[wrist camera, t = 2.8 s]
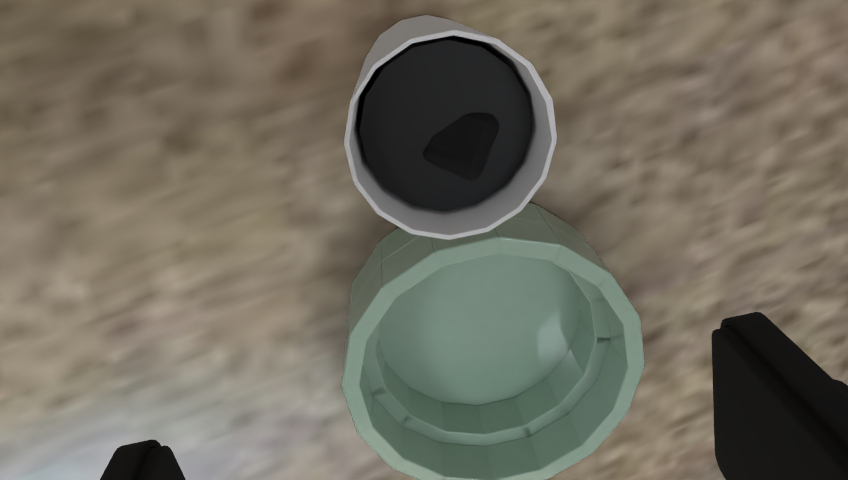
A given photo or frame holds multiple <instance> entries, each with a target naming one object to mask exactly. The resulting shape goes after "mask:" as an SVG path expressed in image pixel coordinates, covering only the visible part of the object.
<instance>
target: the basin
mask: <svg viewBox="0 0 848 480" xmlns="http://www.w3.org/2000/svg"><path fill="white" fill-rule="evenodd" d="M644 367H645V363H644V353H643V342H642V332H641V322H640V317H639V315H638V313H637V312H636V310H635V309H634V307H633V306H632V304H631V303H630V301H629V300H628V298H627V297H626V295H625V293H624V292H623V290H622V289H621V287H620V286H619V284H618V283H617V281H616V280H615V278H614V277H613V275H612V274H611V272H610V271H609V270H608V268H607V267H606V266H605V264H604V263H603V262H602V261H601V259H600V258H599V257H598V255H597V254H596V253H595V251H594V250H593V249H592V247H591V246H590V245H589V243H588V242H587V241H586V239H585V238H584V237H583V235H582V234H581V233H580V232H579V231H578V229H576V228H574V227H573V226H571V225H569V224H568V223H566V222H564V221H563V220H561V219H559V218H558V217H556V216H554V215H553V214H551V213H549V212H548V211H546V210H544V209H543V208H541V207H539V206H538V205H535V204H532V203H527V204H526V205H525V207H524V208H523V209H522V211H520V212H519V213H517V214H516V215H514V216H512V217H511V218H509V219H508V220H506V221H504V222H503V223H501V224H500V225H498V226H496V227H495V228H493V229H492V230H490V231H488V232H485V233H480V234H475V235H471V236H466V237H461V238H456V239H451V240H447V239H440V238H434V237H428V236H421V235H415V234H410V233H409V232H407V231H405V230H403V229H402V228H400V227H399V228H398V229H396V230H395V231H393V232H392V233H390V234H389V235H387V236H386V237H384V238H383V239H382V240H381V241H380V242H379V243H378V244H377V246H376V247H375V249H374V250H373V252H372V253H371V255H370V256H369V258H368V260H367V261H366V263H365V264H364V266H363V267H362V269H361V270H360V272H359V273H358V275H357V276H356V278H355V280H354V281H353V283H352V286H351V293H350V300H349V306H348V313H347V320H346V327H345V341H344V356H343V372H342V389H343V392H344V395H345V398H346V401H347V404H348V407H349V410H350V413H351V416H352V419H353V422H354V425H355V428H356V431H357V433H358V434H359V435H360V436H361V437H362V438H363V439H364V440H365V441H366V442H367V443H368V444H369V445H370V446H371V447H372V449H373V450H374V451H375V452H376V453H377V454H378V455H379V456H380V457H381V458H382V459H383V460H384V461H385V462H386V463H387V464H388V465H389V466H390V467H391V468H393V469H395V470H398V471H400V472H402V473H405V474H407V475H409V476H412V477H414V478H416V479H419V480H545V479H546V480H547V479H549V478H551V477H552V476H554V475H556V474H558V473H559V472H561V471H563V470H565V469H566V468H568V467H570V466H571V465H573V464H575V463H577V462H578V461H580V460H582V459H584V458H585V457H587V456H589V455H591V454H592V453H593V452H594V451H595V450H596V449H597V448H598V447H599V446H600V444H601V443H602V442H603V441H604V440H605V439H606V438H607V437H608V435H609V434H610V433H611V432H612V431H613V430H614V429H615V428H616V426H617V425H618V424H619V423H620V422H621V421H622V420H623V419H624V417H625V416H626V415H627V413H628V411H629V408H630V405H631V403H632V400H633V397H634V394H635V392H636V389H637V386H638V383H639V381H640V378H641V375H642V372H643V370H644Z"/></svg>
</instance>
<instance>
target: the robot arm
mask: <svg viewBox="0 0 848 480" xmlns="http://www.w3.org/2000/svg"><path fill="white" fill-rule="evenodd" d="M712 365H713V401H714V437H715V455H716V460H717V463H718V466H719V468H720V470H721V472H722V474H723V476H724V477H725V479H726V480H848V386H847V385H846V384H844V383H843V382H842V381H838V380H834V379H832V378H831V377H830V376H829V375H828V374H827V373H826V372H825V371H823V370H822V369H821V368H820V367H819V366H818V365H817V364H816V363H815V362H814V361H813V360H812V359H811V358H810V357H809V356H807V355H806V354H805V353H804V352H803V351H802V350H801V349H800V348H799V347H798V346H797V345H796V344H795V343H794V342H793V341H791V340H790V339H789V338H788V337H787V336H786V335H785V334H784V333H783V332H782V331H781V330H780V329H779V328H778V327H777V326H775V325H774V324H773V323H772V322H771V321H770V320H769V319H768V318H767V317H766V316H765V315H763V314H762V313H760V312H754V313H749V314H745V315H740V316H735V317H730V318H726V319H724V320H722V323H721V328H720V329H716V330H714V331H713V333H712ZM100 480H185V477H184V475H183V473H182V471H181V469H180V467H179V465H178V463H177V460H176V458H175V456H174V454H173V452H172V450H171V449H170V448H169V447H168V446H161V445H160V443H159V442H157V441H156V440H148V441H143V442H138V443H133V444H129V445H124V446H121V447H119V448H117V450H116V451H115V452H114V454H113V456H112V458H111V460H110V462H109V464H108V466H107V468H106V469H105V471H104V473H103V475H102V477H101V479H100Z"/></svg>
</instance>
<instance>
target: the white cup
mask: <svg viewBox="0 0 848 480" xmlns="http://www.w3.org/2000/svg"><path fill="white" fill-rule="evenodd" d="M556 142H557V136H556V127H555V117H554V108H553V100H552V98H551V96H550V94H549V93H548V91H547V89H546V87H545V86H544V84H543V82H542V80H541V79H540V77H539V75H538V73H537V72H536V70H535V68H534V67H533V65H532V63H530V62H529V61H527V60H526V59H525V58H523V57H522V56H521V55H519V54H518V53H516V52H515V51H514V50H512V49H511V48H510V47H508V46H507V45H505V44H504V43H503V42H501V41H500V40H498V39H497V38H494V37H492V36H489V35H487V34H484V33H482V32H480V31H477V30H475V29H472V28H470V27H467V26H465V25H462V24H460V23H457V22H455V21H452V20H449V19H444V18H440V17H435V16H430V15H423V16H418V17H413V18H409V19H404V20H400V21H399V22H398V23H396V24H395V25H393V26H392V27H390V28H389V29H388V30H386V31H385V32H383V33H382V34H381V35H379V37H378V38H377V40H376V42H375V43H374V45H373V46H372V48H371V50H370V51H369V53H368V54H367V56H366V58H365V61H364V64H363V67H362V70H361V73H360V76H359V78H358V81H357V84H356V87H355V90H354V93H353V96H352V99H351V101H350V107H349V114H348V120H347V126H346V132H345V138H344V147H345V151H346V155H347V158H348V162H349V166H350V170H351V174H352V178H353V182H354V184H355V185H356V187H357V188H358V189H359V191H360V192H361V193H362V195H363V196H364V197H365V198H366V200H367V201H368V202H369V204H370V205H371V206H372V208H373V209H374V210H375V212H376V213H377V214H378V215H380V216H381V217H383V218H385V219H386V220H388V221H390V222H392V223H393V224H395V225H397V226H398V227H400V228H402V229H403V230H405V231H407V232H409V233H410V234H415V235H421V236H428V237H434V238H440V239H447V240H451V239H456V238H461V237H466V236H471V235H475V234H480V233H485V232H488V231H490V230H492V229H493V228H495V227H496V226H498V225H500V224H501V223H503V222H504V221H506V220H508V219H509V218H511V217H512V216H514V215H516V214H517V213H519V212H520V211H522V209H523V208H524V207H525V205H526V204H527V203H528V202H529V200H530V199H531V198H532V196H533V195H534V194H535V192H536V191H537V190H538V189H539V187H540V186H541V185H542V183H543V182H544V181H545V179H546V176H547V173H548V170H549V166H550V163H551V159H552V156H553V152H554V149H555V145H556Z"/></svg>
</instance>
